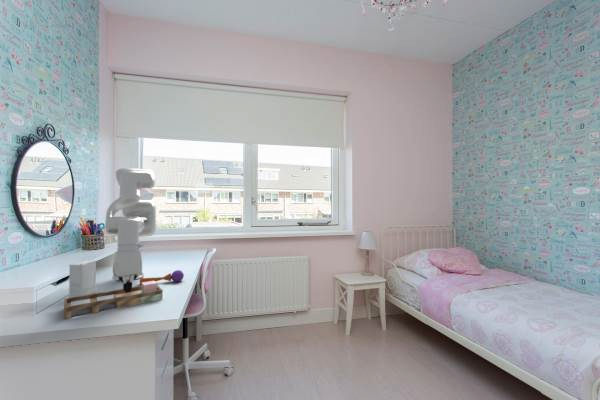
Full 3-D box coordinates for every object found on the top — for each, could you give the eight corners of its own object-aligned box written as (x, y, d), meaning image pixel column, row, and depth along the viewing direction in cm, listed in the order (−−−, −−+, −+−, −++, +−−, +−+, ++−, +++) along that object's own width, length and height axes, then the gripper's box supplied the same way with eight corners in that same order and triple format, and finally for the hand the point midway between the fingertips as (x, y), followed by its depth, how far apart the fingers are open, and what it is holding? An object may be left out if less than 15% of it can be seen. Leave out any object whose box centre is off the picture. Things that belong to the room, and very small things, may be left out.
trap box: (63, 319, 97) (63, 307, 97) (64, 309, 106) (64, 298, 106) (162, 299, 117) (162, 289, 117) (155, 292, 126) (155, 283, 126)
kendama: (141, 275, 141) (183, 269, 148) (142, 287, 140) (184, 280, 147) (139, 275, 136) (182, 269, 143) (139, 288, 135) (183, 281, 142)
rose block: (141, 291, 119) (141, 282, 119) (154, 289, 122) (154, 280, 122) (143, 294, 115) (143, 285, 115) (156, 292, 119) (156, 283, 119)
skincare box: (83, 292, 126) (84, 259, 126) (96, 292, 125) (97, 259, 126) (67, 298, 117) (68, 263, 117) (81, 298, 117) (82, 264, 117)
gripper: (146, 244, 122) (145, 286, 122) (105, 248, 113) (104, 293, 113) (150, 247, 116) (149, 290, 116) (107, 251, 107) (106, 298, 107)
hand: (127, 291), depth 115 cm, fingers closed
